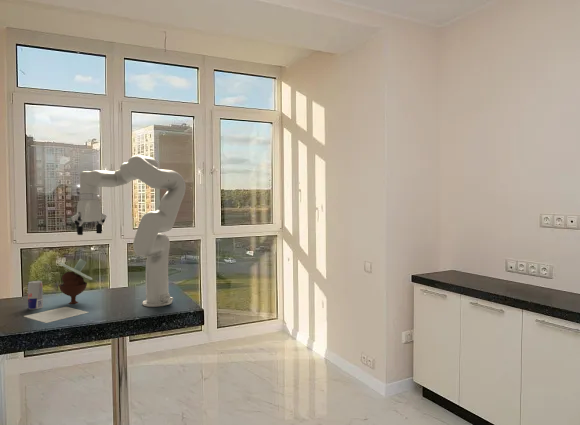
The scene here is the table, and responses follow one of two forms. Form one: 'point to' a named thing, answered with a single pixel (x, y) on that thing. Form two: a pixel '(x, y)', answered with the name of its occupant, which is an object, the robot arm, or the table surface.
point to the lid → (78, 268)
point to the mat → (55, 314)
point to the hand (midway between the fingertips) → (89, 234)
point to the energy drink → (35, 295)
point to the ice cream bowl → (72, 285)
